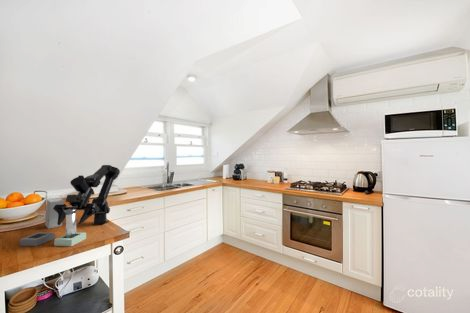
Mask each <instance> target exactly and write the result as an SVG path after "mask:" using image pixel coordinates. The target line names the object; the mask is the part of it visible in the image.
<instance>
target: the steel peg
mask: <svg viewBox="0 0 470 313" xmlns="http://www.w3.org/2000/svg"><path fill="white" fill-rule="evenodd" d="M76 232H77V210H76V208H71V209H67V210H66V218H65V234H66V238H73V237H75V236H76Z"/></svg>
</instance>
